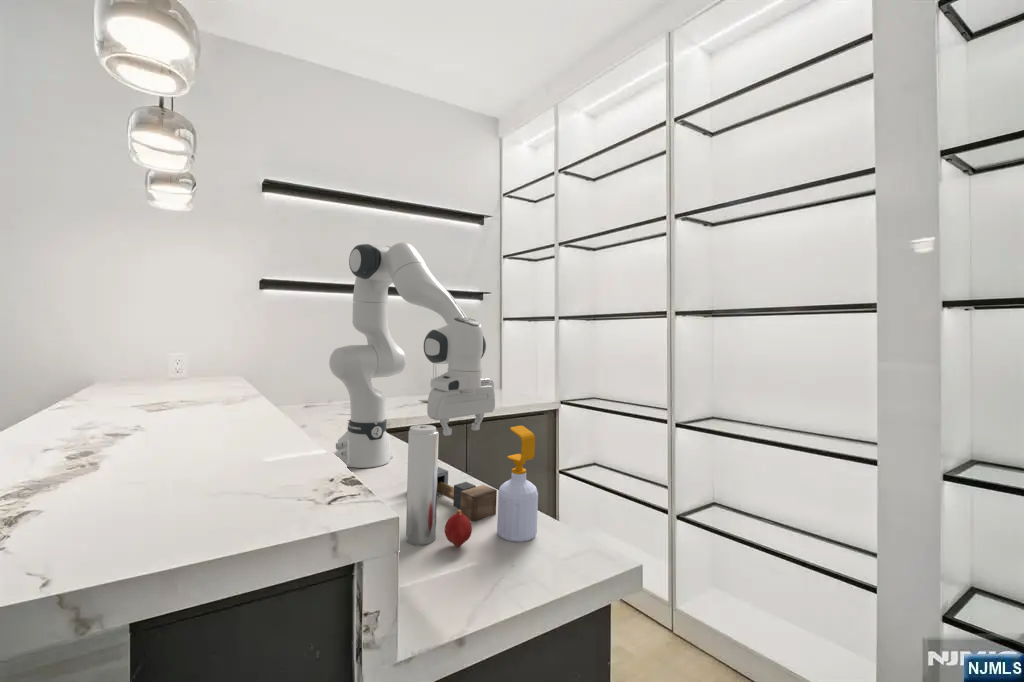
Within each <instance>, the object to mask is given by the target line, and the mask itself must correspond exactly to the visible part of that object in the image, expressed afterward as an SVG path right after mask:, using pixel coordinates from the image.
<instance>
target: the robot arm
mask: <svg viewBox="0 0 1024 682" xmlns="http://www.w3.org/2000/svg"><path fill="white" fill-rule="evenodd" d="M348 258H349V260H348V264H349V269H350V271H351V273H352V274H353V275H354V276H355V282H354V288H353V293H352V325H353V327H354V329H355V330H356V331H357V332H359V333H361V334H362V335H364V336H365V338H366V343H367V344H354V345H353V344H350V345H345V346H342V347H341V346H340V347H336V348H335V349H334V350H333V351H332V353H331V354H330V355H329V356H330V357H329V364H328V365H329V369H330V372H331V373H332V375H334V376H335V377H336V378H337V379H338V380H340V381H341V382H342V383H343V384H344V387H345V388H346V390H347V393H348V395H349V403H350V419H348V420H347V429H346V431H345V433H344V434H343V435H342V436H341V437H339V438H338V440H337V442H336V444H335V451H332V452H331V453H334V454H335V455H336V456H337V457H339V458H340V459H341V460H342V461H343V462H344V463H345V464H346V465H347V467H346V468H357V469H360V468H362V469H363V468H365V469H367V468H376V467H380V466H383V465H386V464H388V463H390V460H391V459H392V458H394V454H393V453H391V447H390V434H389V433H388V432H387V426H388V423H387V418H386V405H387V404H386V402H387V399H386V396H385V394H384V393H383V392H382V391H380V390H379V389H377V388H375V387H373V385H372V379H374V378H387V377H392V376H395V375H399V374H401V373H402V372H403V371H404V369H405V366H406V364H407V358H406V353H405V352H404V350H403V349H402V347H400V346H399V345H398V344H397V343H396V342H395V340H394V339H393V336H392V335H391V332H390V327H389V313H388V312H389V311H388V309H389V294H388V293H389V292H388V291H389V287H390V286H391V284H394V287H395V289H396V291H397V293H398V294H399V296H401V298H402V299H403V300H404V301H405V302H407V303H409V304H412V305H414V306H418V307H422V308H425V309H428V310H431V311H433V312H435V313H437V314H438V315H439V316H441V317H442V319H443V320H444V322H445V323H446V325H444V326H442V327H439V328H435V329H432V330H430V331H429V332H428V333H427V334H426V336H425V338H424V341H423V352H424V356H425V357H426V359H427V360H428V362H431V363H432V364H436V365H447V364H448V365H447V372H445V373H443V374H440V375H438V376H436V377H433V378H432V379H431V380H430V384H429V385H430V388H432V389H431V390H430V391H429V393H428V397H427V409H426V414H427V416H428V417H429V418H430V420H433V421H439V424H440V426H441V427H442V434H443V436H445V437H448V436H451V435H452V434H453V433H452V431H453V429H452V428H451V427H449V425H448V424H449V423H450V419H455V418H463V417H469V416H474V417H475V419H474V421H473V422H471V430H472V431H480V428H481V424H482V421H483V420H484V418H485V417H484V416H485V414H489V413H493V412H494V411H495V408H496V396H495V389H494V388H495V384H494V382H493V380H491V378H488V377H487V378H482V370H483V368H482V363H481V361H482V358H483V357H484V355H485V353H486V349H487V344H486V343H487V342H486V338H485V337H484V335H483V328H482V324H481V323H480V322H479V321H478V320H476V319H474V318H471V317H469V318H468V316H467V315H466V313H465V311H464V310H463V309H462V308H461V306H460V305H459V303H458V302H457V300H456V299H455V297H454V296H453V295H452V294H451V293H450V291H448V289H447V288H445V287H444V286H443V285H442V284H441V283H440V282H439V281H438V280H437V278H436V277H435V276H434V275H433V273H432V271H430V269H429V267H428V265H427V264H426V262H425V260H424V258H423V257H422V255H421V254H420V253H419V251H418V250H417V249H416V247H415V246H414V245H412V244H411V243H409V242H398V243H395V244H393V245H392V246H391V245H390V246H389V245H378V244H377V245H373V244H369V243H363V244H357V245H355V246H354V247H353V249H351V252H350V254H349V257H348Z"/></svg>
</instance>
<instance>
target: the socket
mask: <svg viewBox="0 0 1024 682" xmlns="http://www.w3.org/2000/svg"><path fill="white" fill-rule="evenodd" d="M497 493H498V491H497V489H495V488H493V487H491V486H488V485H486V484H481V485H476V487H474V488H470V489H467V490H464V491H461V512H462V514H464V515H466V516H467V517H468V519H469V520H470V522H471V523H475V522H479V521H481V520H484V519H488V518H490V517H493V516H495V515H497V499H498V497H497Z"/></svg>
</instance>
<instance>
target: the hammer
mask: <svg viewBox="0 0 1024 682" xmlns="http://www.w3.org/2000/svg"><path fill="white" fill-rule="evenodd" d="M474 487H477V485H475V484H473V483H470V482H468V481H465V482H464V481H463V482H461V483H457V484H454V485H453V486H452V485H450V484H449V483H448V484H446V483H444V482H439V483H438V484H437V492H438V493H440V494H442V495H441V496H444V497H446V498H449V499H451V500H452V501H453V507H455V508H456V509H458V510H461V491H464V490H467V489H470V488H474Z"/></svg>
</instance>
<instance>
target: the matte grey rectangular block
mask: <svg viewBox="0 0 1024 682" xmlns="http://www.w3.org/2000/svg"><path fill="white" fill-rule="evenodd" d="M439 482H444V483H446V484H448V485H449V470H447V469H445V468H442V467H440V466H438V473H437V484H438V483H439ZM439 495H441V496H443V495H442V494H440V493H438V492H437V496H438V497H440V496H439Z"/></svg>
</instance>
